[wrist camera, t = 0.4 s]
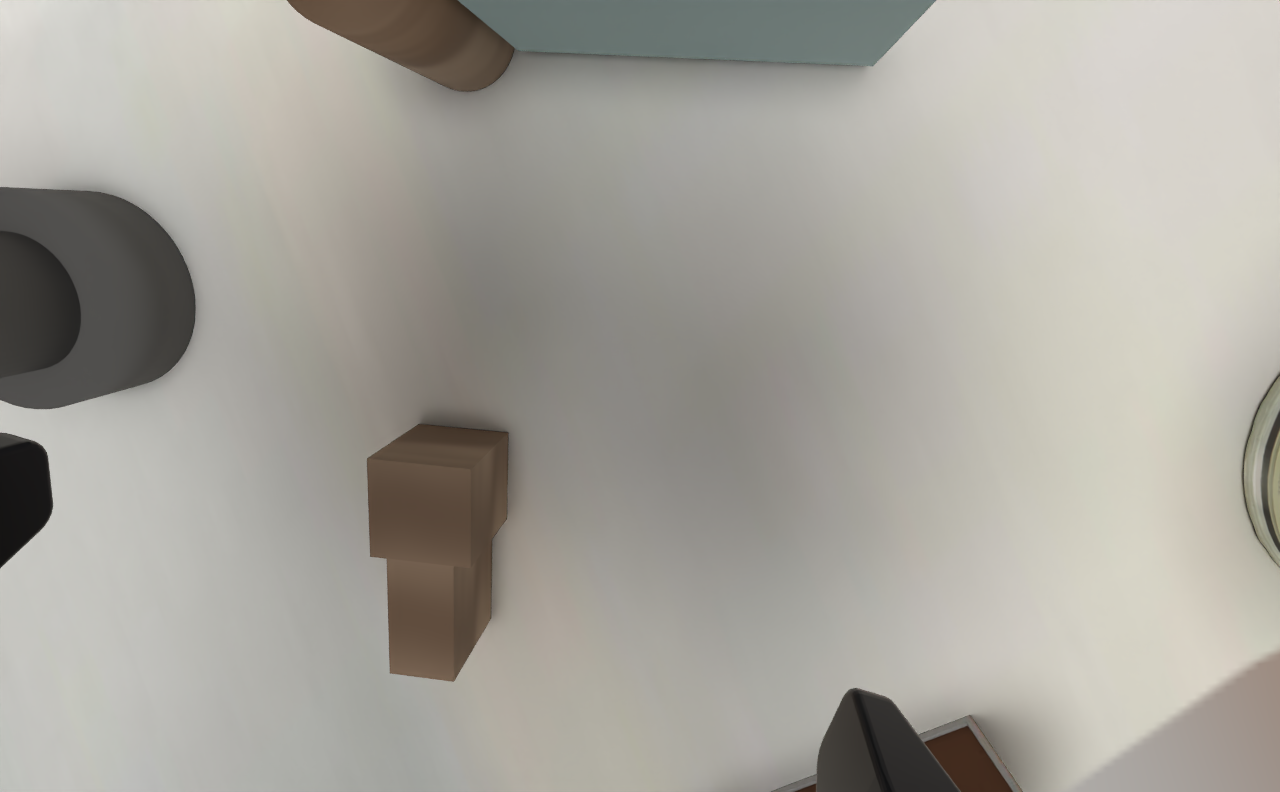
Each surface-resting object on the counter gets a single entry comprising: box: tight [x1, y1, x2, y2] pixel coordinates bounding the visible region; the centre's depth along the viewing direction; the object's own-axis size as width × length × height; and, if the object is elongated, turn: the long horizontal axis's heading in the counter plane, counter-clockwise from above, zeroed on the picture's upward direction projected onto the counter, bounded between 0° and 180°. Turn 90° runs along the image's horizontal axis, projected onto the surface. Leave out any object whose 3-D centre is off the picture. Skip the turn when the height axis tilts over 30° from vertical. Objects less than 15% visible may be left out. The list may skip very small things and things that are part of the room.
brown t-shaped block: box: [287, 0, 514, 682], centre depth 19 cm, size 20×3×7 cm, turn 176°
